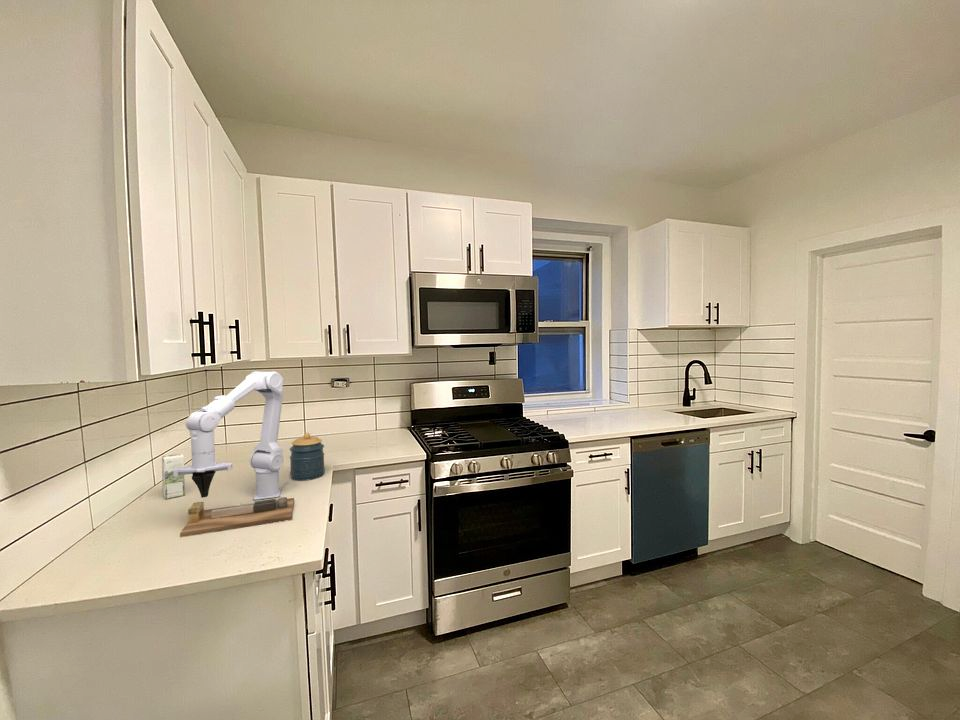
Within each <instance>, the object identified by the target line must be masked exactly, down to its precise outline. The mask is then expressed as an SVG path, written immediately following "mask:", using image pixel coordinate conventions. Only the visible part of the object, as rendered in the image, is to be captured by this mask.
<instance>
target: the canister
mask: <svg viewBox="0 0 960 720" xmlns="http://www.w3.org/2000/svg"><path fill="white" fill-rule="evenodd" d="M322 441H323V439H321V438H319V437H318V436H314V435H313V436H311V434H310V433H309V432H305V433H303V436H302V437H298V438H295V440H293V441H292V442H291V445H292V446H291V447H290V448H289V451H290V456H289V460H290V461H289V462H290V472H289V476H290V479H291V480H293V479H295V481H308V480H307V479H311V480H314V479H313V478H315V479H317V478H316V477H318V478H320V477H319V476H321V477H322V476H324V475H325V470H326V469H325V452H324V449H323V448H325V445H324V443H322ZM323 474H324V475H323Z"/></svg>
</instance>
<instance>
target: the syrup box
mask: <svg viewBox="0 0 960 720" xmlns="http://www.w3.org/2000/svg"><path fill="white" fill-rule="evenodd" d="M181 467H185V456H184V455H183V454H182V453H180V452H179V453H173V454H167V455H162V456H161V469H162V470H161V473H162V475H161V477H162V496H163V497H164V500H170V499H174V498H178V497H179V498H180V497H182V496H185V495H186V494H185V493H186V490H185V489H186V487H185V486H186V483H185V482H186V481H185V480H186V479H185V475H179V476H174V469H175V468H181Z"/></svg>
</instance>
